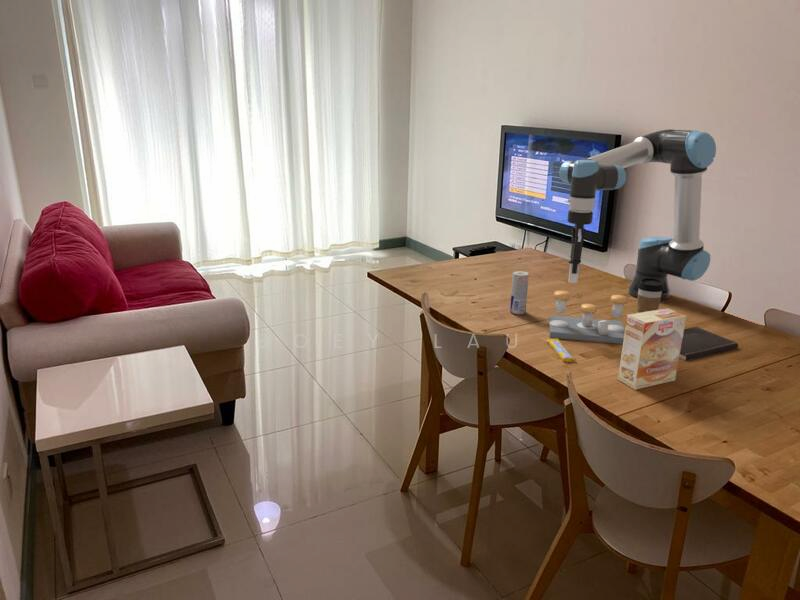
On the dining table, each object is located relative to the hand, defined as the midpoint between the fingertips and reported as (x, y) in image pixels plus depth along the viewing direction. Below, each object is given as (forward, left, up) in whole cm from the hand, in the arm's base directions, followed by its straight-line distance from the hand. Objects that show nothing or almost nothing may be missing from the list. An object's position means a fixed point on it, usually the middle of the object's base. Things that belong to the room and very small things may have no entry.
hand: (572, 282), depth 201 cm
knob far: (+3, 0, -11) cm, 11 cm away
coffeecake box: (-20, +34, -17) cm, 43 cm away
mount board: (-6, 0, -17) cm, 18 cm away
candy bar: (+3, +19, -18) cm, 26 cm away
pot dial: (-11, +6, -15) cm, 19 cm away
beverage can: (+17, -14, -17) cm, 28 cm away
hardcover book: (-38, +4, -18) cm, 42 cm away
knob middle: (-6, 0, -15) cm, 16 cm away
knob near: (-15, 0, -11) cm, 19 cm away
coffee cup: (-27, -15, -17) cm, 36 cm away
